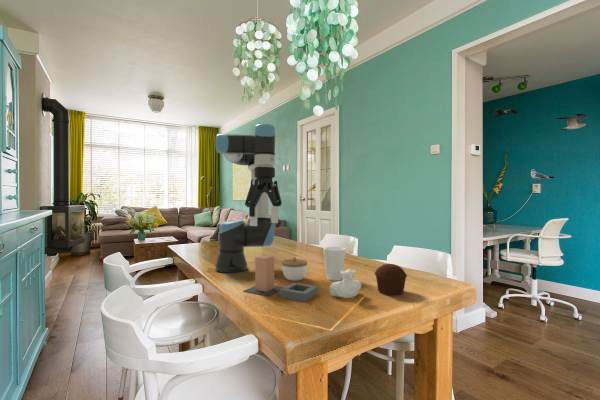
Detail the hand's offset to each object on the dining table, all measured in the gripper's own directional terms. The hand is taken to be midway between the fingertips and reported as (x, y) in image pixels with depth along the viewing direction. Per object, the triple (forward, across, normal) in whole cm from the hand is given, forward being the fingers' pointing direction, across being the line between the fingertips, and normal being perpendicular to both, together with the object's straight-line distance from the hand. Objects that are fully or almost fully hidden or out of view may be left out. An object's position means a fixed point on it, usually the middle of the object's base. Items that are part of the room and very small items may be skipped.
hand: (264, 224), depth 113 cm
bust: (+25, +8, -30) cm, 39 cm away
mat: (+25, 0, 0) cm, 25 cm away
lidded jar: (+25, +18, -2) cm, 31 cm away
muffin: (+25, +22, -42) cm, 53 cm away
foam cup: (+25, +28, -16) cm, 41 cm away
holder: (+25, 0, -14) cm, 29 cm away
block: (+24, 0, 0) cm, 24 cm away
